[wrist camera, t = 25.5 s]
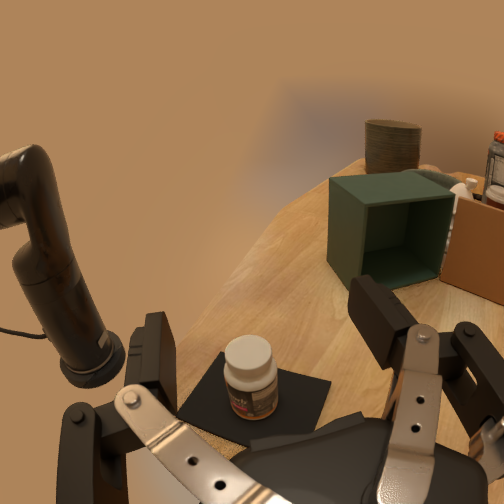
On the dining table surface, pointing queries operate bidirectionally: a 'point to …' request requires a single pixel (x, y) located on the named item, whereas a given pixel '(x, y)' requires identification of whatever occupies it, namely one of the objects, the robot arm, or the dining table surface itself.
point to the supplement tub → (494, 164)
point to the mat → (278, 422)
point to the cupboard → (388, 227)
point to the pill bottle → (251, 377)
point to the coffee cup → (495, 197)
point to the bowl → (436, 177)
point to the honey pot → (461, 191)
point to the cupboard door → (476, 250)
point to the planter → (391, 146)
